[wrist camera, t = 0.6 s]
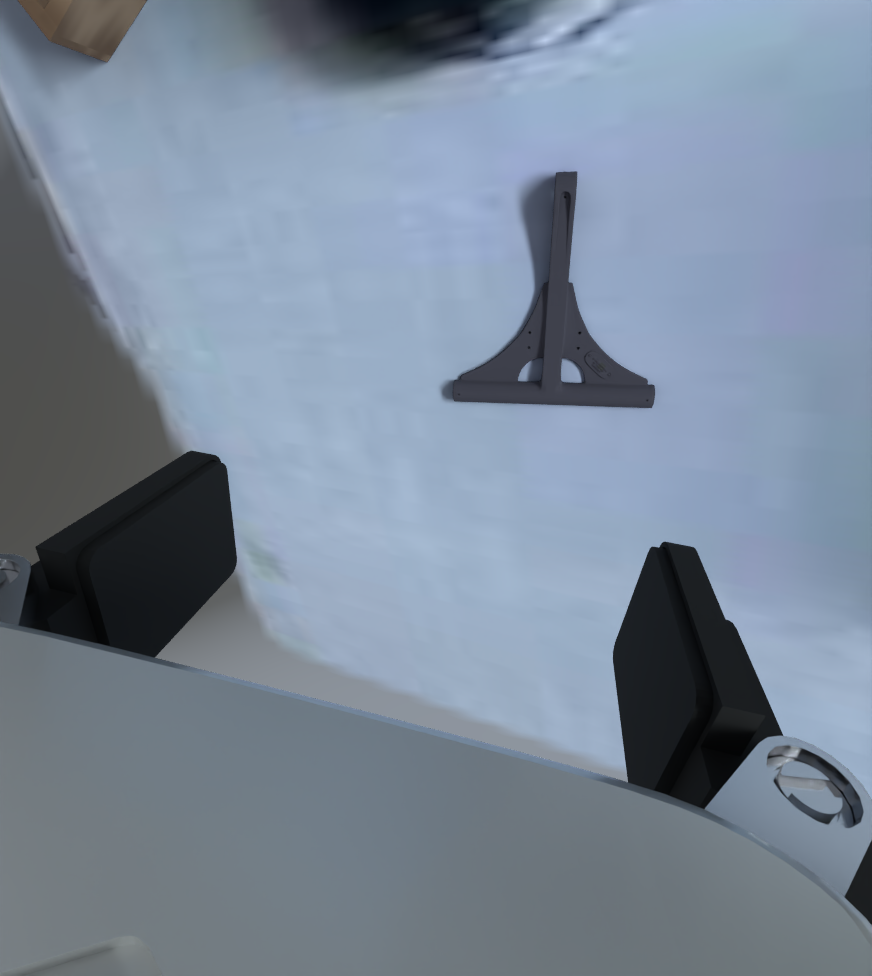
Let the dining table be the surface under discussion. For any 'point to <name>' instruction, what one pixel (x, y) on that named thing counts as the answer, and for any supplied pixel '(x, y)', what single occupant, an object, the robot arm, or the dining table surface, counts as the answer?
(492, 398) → the bracket
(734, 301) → the dining table surface
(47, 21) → the box
